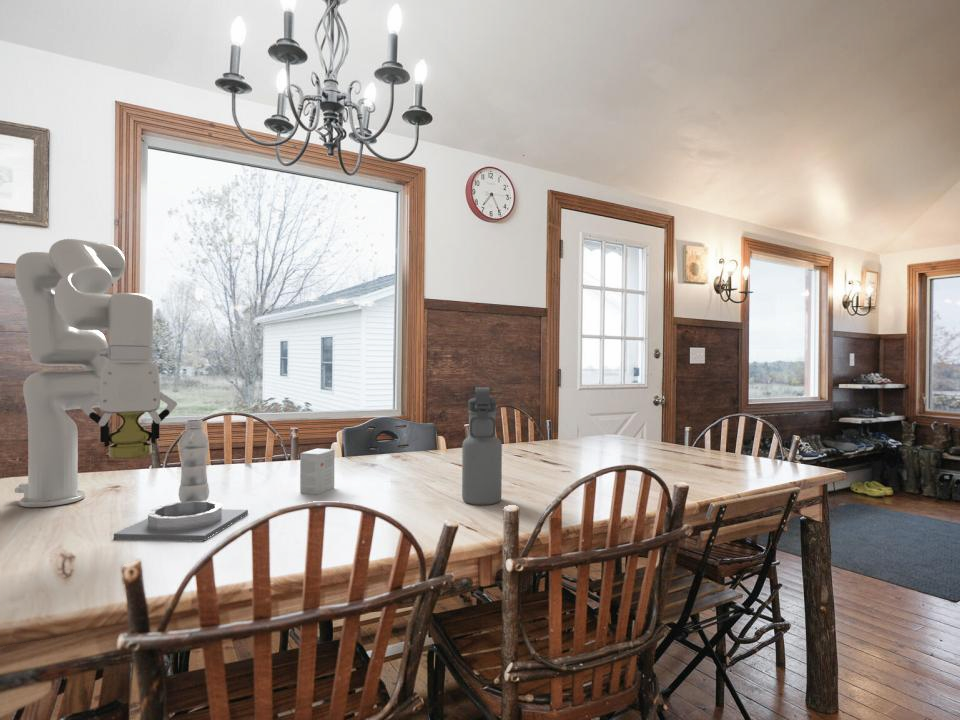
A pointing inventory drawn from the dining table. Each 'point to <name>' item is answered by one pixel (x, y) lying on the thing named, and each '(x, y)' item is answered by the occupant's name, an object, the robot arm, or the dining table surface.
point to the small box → (316, 471)
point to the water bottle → (482, 452)
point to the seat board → (201, 533)
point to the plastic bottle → (193, 463)
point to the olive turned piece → (130, 438)
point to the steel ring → (165, 522)
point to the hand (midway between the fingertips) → (130, 443)
